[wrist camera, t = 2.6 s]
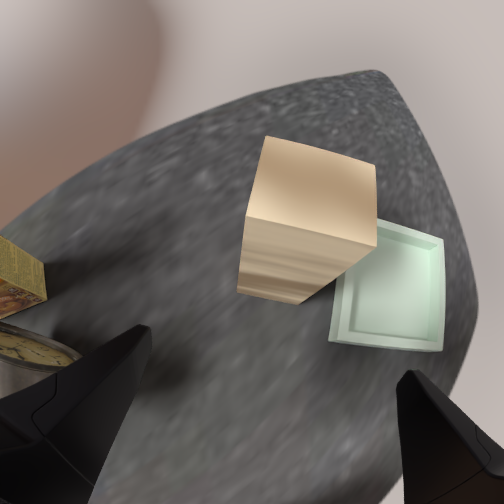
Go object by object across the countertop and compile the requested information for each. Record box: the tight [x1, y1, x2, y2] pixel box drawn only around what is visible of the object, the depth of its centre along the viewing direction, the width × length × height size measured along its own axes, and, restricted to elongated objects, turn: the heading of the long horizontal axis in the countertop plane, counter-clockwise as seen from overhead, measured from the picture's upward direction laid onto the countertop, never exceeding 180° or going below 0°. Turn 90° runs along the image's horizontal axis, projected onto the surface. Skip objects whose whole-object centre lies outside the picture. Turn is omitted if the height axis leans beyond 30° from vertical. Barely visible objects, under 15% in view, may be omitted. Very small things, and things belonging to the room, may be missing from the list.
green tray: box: [328, 218, 445, 352], centre depth 22 cm, size 11×11×2 cm
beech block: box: [237, 136, 377, 305], centre depth 16 cm, size 4×5×13 cm
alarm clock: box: [0, 322, 83, 398], centre depth 10 cm, size 11×5×16 cm, turn 81°
